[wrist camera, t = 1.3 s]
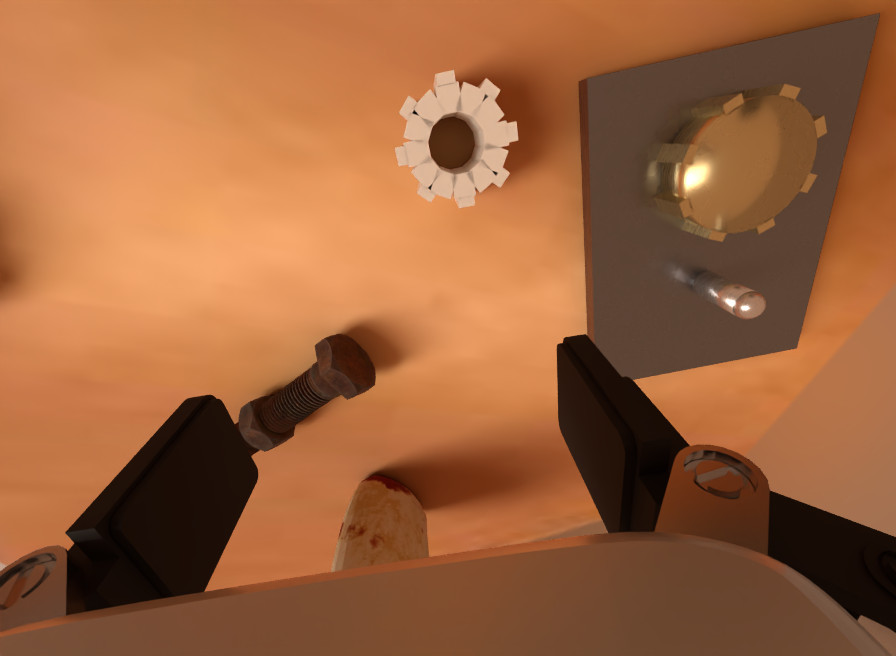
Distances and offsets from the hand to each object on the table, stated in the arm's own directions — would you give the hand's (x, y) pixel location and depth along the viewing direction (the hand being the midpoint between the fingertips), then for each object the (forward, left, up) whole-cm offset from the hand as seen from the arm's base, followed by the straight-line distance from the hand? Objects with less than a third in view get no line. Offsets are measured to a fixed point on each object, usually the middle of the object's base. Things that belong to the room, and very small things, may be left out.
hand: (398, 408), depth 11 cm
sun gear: (-1, +22, -19) cm, 29 cm away
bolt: (+11, -14, -21) cm, 28 cm away
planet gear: (-6, +4, -21) cm, 22 cm away
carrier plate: (+4, +22, -21) cm, 30 cm away
